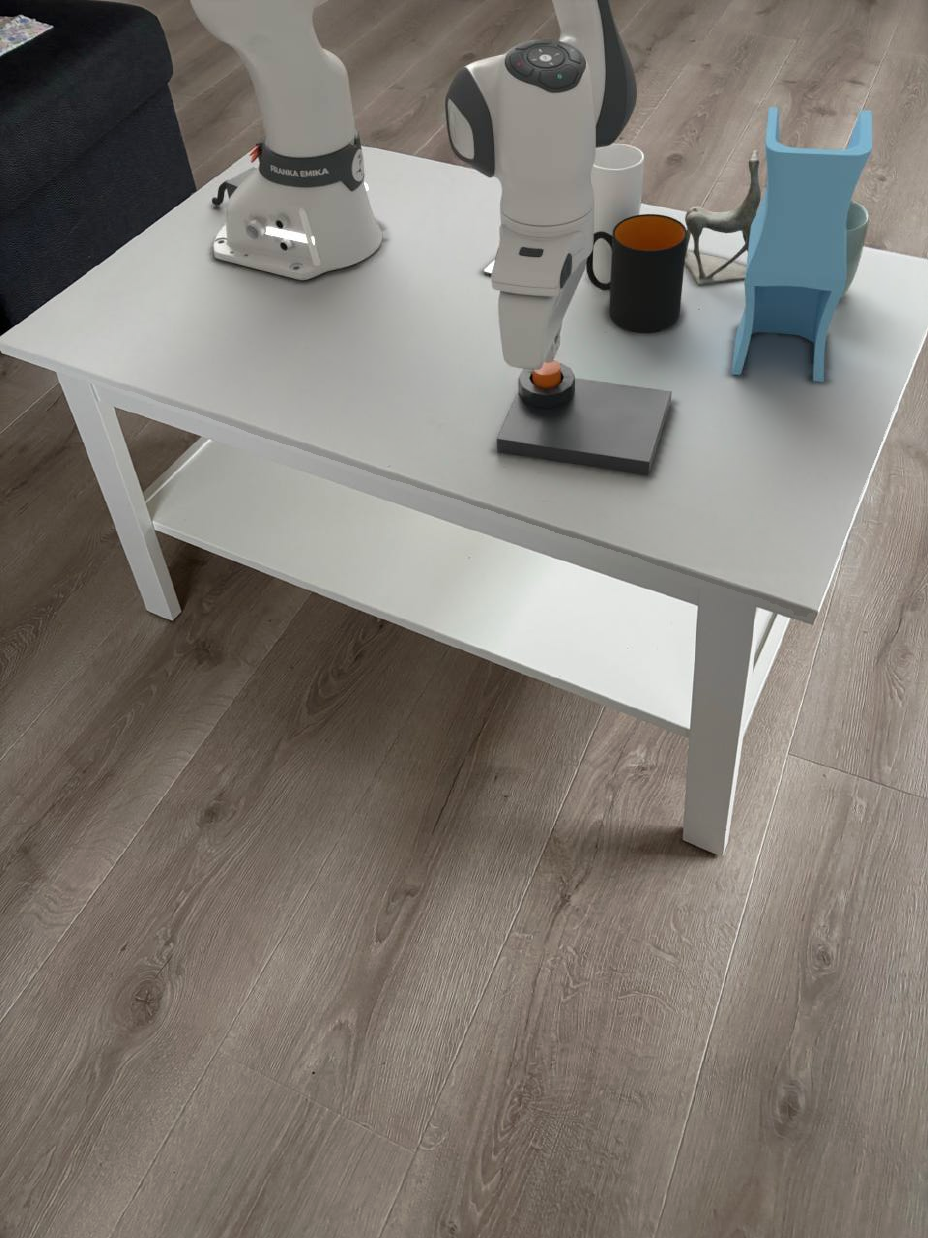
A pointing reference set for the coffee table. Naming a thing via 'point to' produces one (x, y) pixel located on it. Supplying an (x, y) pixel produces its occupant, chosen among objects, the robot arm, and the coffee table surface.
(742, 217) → the figurine
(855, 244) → the cup
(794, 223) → the blue toy chair
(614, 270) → the mug
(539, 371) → the button
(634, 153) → the drinking glass
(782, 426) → the coffee table surface
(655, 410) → the dark grey flat block
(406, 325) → the coffee table surface
